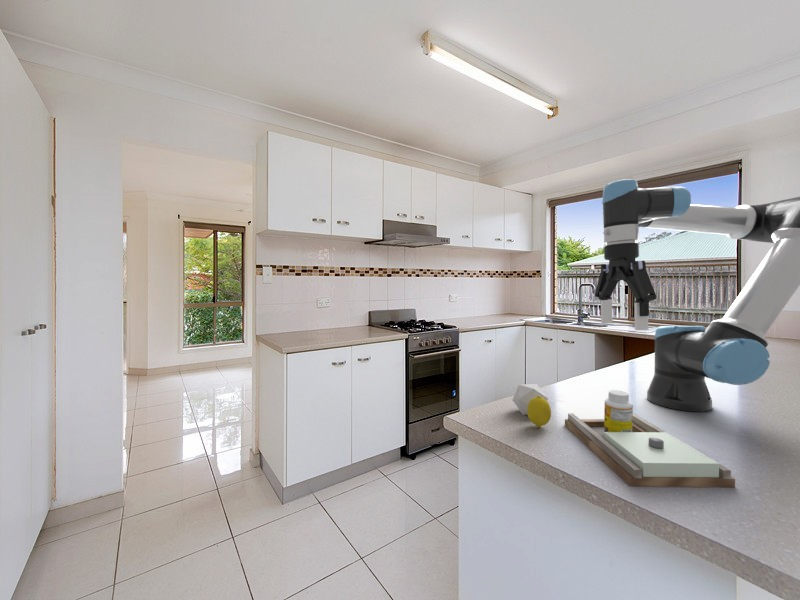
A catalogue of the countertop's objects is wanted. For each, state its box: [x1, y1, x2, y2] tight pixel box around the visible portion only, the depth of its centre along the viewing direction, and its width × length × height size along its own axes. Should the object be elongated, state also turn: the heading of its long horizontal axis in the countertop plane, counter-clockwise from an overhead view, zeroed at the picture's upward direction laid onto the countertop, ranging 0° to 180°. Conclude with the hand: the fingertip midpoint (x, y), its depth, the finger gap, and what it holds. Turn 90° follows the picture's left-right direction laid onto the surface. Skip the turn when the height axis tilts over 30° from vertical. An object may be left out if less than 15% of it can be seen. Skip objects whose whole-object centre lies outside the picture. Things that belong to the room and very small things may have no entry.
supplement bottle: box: [603, 389, 634, 432], centre depth 81 cm, size 6×6×10 cm
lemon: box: [527, 396, 552, 428], centre depth 88 cm, size 6×6×8 cm
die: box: [512, 383, 549, 416], centre depth 98 cm, size 8×9×10 cm
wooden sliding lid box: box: [564, 412, 736, 488], centre depth 75 cm, size 18×27×3 cm, turn 178°
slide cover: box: [604, 431, 720, 477], centre depth 69 cm, size 13×13×4 cm
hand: (623, 326), depth 90 cm, fingers open, 13 cm apart
